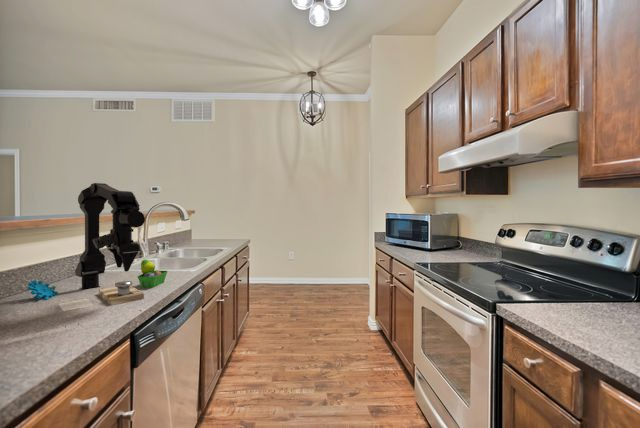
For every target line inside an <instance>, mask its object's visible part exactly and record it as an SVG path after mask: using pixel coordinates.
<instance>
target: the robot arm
mask: <svg viewBox="0 0 640 428" xmlns="http://www.w3.org/2000/svg"><path fill="white" fill-rule="evenodd" d="M77 202H78V204H79V209H80V211H82V212H83V214H84V251H83V252H82V253H81V254H80V256H79V262H78V263H77V265H76V267H75V270H74V272H75V273H74V274H75V276H76V277H79V278H81V287H79V291H85V290H92V289H97V288H99V289H100V288H101V286H100V274H104V273H105V271H106V266H107V265H106V264H107V262H106V260H105V259H106V256H105V254H103V252H102V251H101V249H103V248H104V247H106V248H107V251H109V252H110V253H112V255H113V257H114V262H115V264H116V267H117V269H118V268H121V267H123V270H124V272H129V271H130V269H131V267H132V264H133V262H134V261H135V259H136V258H137V255H138V254H139V252H141V245H139V243H137V242H134V239H132V238H133V235H132V234H133V232H134V228H140V227H142V226H143V225H144V224H145V221H146V217H145V215H144V213H142V211H140V209H141V208H140V204H139V201H138V200H137V198H136V195H135V194H134V192H133V191H127V190H119V189H117V188H114V187H112V186H110V185H109V184H108V183H102V182H94V183H91V184H90V185H89V186H88V187H86V188H84V189H82V190H81V191H80V193H79V194H78V198H77ZM107 203H108V205H109V206H110V207H111V211H110V213H111V214H112V228H110V230H109V233H108V234H103V235H100V214H101V213H102V211H103V210H104V209H105V204H107Z"/></svg>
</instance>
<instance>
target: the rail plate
mask: <svg viewBox="0 0 640 428" xmlns="http://www.w3.org/2000/svg"><path fill="white" fill-rule="evenodd" d="M98 295H99V296H100V297H102V298H103V300H104V301H106V302H107V303H108V304H109V305H111V306H114V305H120V304H123V303H124V304H125V303H129V302H135V301H139V300H144V299H145V294H144V292H142V291H140V290H139V289H137V288H136V287H134V286H132V285H131V286H130V295H124V296H119V297H118V287H115V286H112V287H106V288H105V287H104V288H99V289H98Z"/></svg>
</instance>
